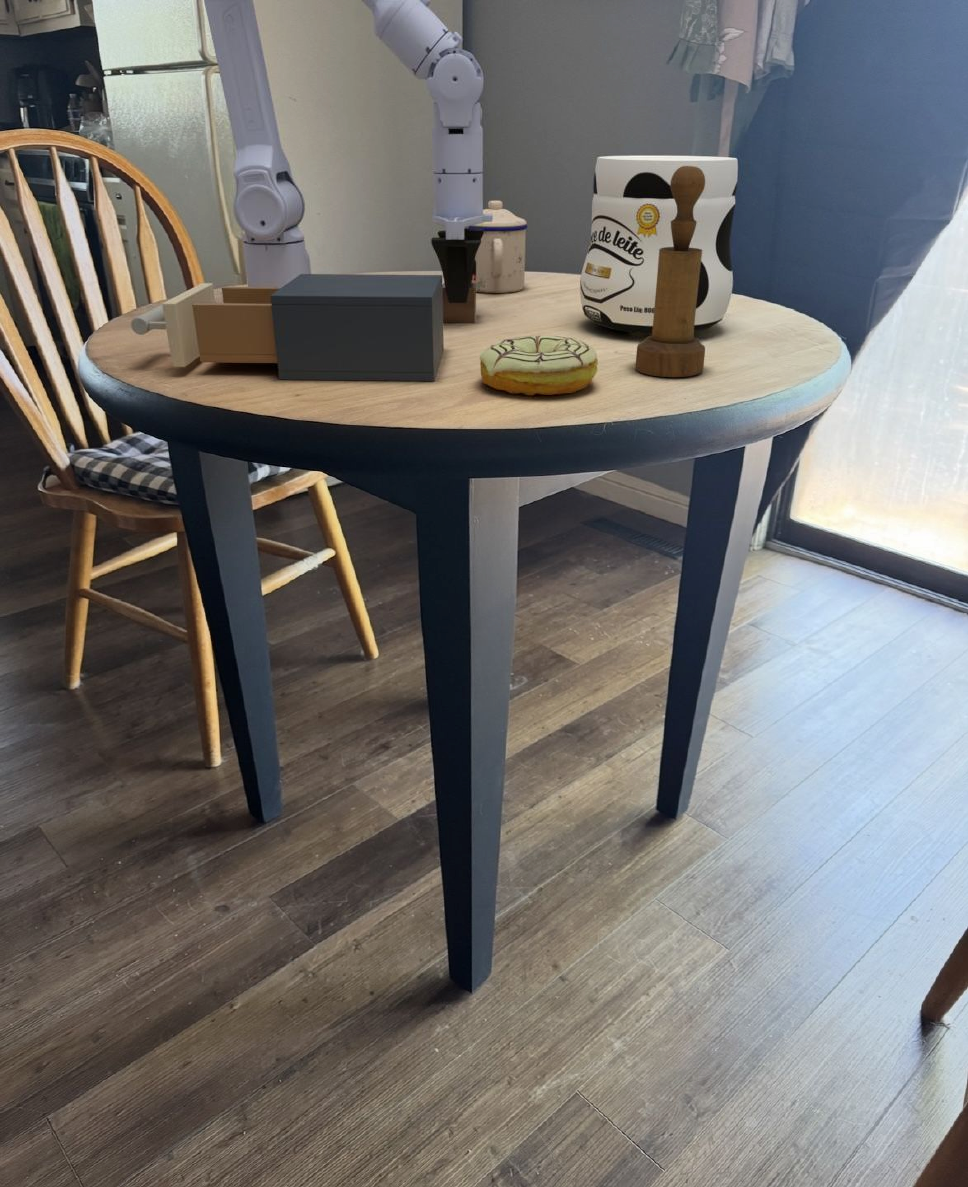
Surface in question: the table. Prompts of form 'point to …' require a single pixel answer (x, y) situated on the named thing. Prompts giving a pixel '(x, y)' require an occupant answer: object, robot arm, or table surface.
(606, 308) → the milk container
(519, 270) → the teacup with lid
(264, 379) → the table surface
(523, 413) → the table surface
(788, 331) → the table surface
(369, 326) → the cabinet
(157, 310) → the drawer
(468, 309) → the block
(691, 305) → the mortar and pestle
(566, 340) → the decorated donut
